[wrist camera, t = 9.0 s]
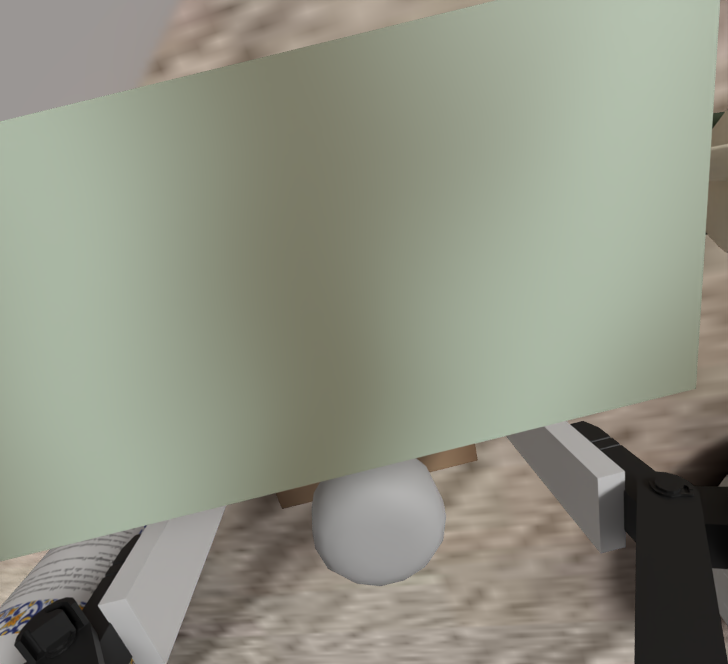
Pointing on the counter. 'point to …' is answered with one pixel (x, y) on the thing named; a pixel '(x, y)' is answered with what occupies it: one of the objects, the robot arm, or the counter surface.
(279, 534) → the counter surface
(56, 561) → the bath foam
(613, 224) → the socket station
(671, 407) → the counter surface
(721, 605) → the serving bowl
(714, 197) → the character mug
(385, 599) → the counter surface
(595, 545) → the robot arm
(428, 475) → the salt shaker
